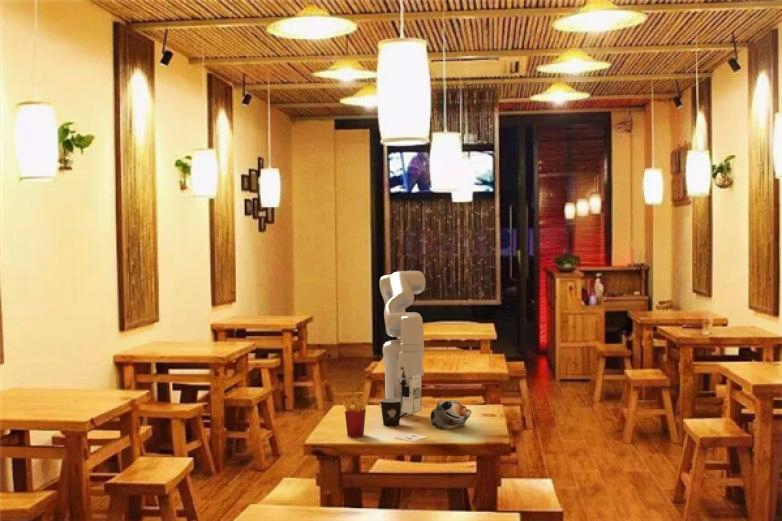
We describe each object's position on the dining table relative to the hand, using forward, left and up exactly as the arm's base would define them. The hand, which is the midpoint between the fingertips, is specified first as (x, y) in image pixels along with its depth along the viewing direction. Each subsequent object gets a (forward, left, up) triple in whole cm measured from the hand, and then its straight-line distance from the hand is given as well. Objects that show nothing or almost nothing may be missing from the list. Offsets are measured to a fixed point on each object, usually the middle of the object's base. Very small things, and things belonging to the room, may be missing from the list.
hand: (411, 394), depth 339 cm
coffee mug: (-18, +12, -16) cm, 28 cm away
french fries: (-19, -11, -16) cm, 28 cm away
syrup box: (0, 0, -7) cm, 7 cm away
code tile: (+1, -1, -16) cm, 16 cm away
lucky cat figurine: (+2, +23, -16) cm, 29 cm away
